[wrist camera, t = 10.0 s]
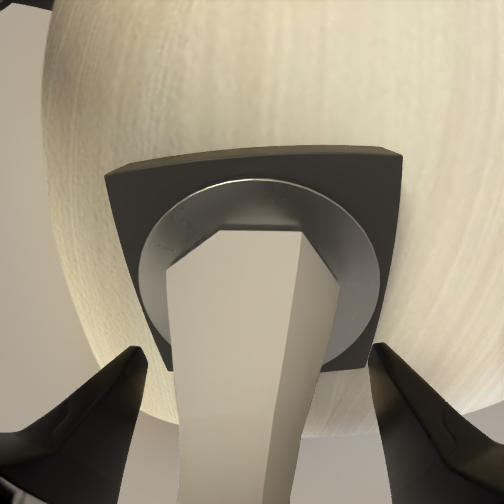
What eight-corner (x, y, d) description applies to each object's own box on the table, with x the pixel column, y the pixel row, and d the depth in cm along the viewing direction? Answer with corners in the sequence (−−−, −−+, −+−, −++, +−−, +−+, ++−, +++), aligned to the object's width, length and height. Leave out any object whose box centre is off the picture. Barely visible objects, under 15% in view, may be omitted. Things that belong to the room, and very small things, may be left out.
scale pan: (174, 367, 15) (171, 375, 15) (117, 190, 10) (110, 194, 10) (357, 364, 14) (358, 372, 14) (389, 173, 9) (395, 176, 9)
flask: (140, 253, 11) (3, 483, 2) (319, 198, 9) (442, 565, 1) (211, 368, 14) (176, 548, 5) (349, 340, 12) (385, 545, 4)
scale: (176, 344, 18) (166, 374, 16) (128, 163, 12) (100, 176, 10) (357, 340, 17) (365, 370, 14) (381, 146, 11) (405, 155, 9)
